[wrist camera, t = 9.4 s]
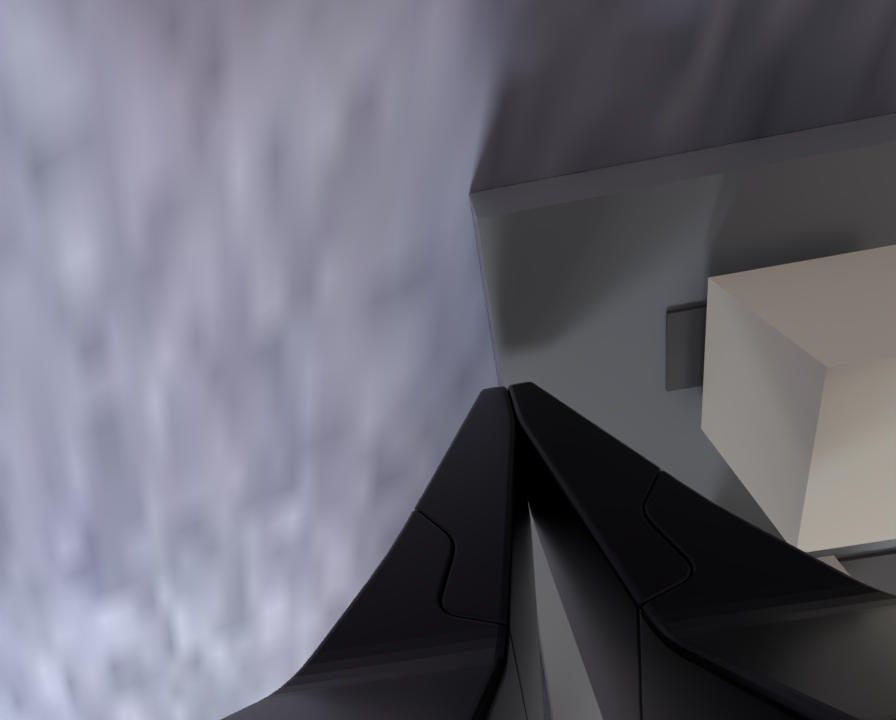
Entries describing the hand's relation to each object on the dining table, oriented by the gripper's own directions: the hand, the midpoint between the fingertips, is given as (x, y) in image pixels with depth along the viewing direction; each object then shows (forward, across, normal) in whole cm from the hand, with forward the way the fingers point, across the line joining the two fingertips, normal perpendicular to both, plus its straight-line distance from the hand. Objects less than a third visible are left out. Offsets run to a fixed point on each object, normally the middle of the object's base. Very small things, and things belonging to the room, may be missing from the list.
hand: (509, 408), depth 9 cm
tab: (+1, -5, 0) cm, 5 cm away
